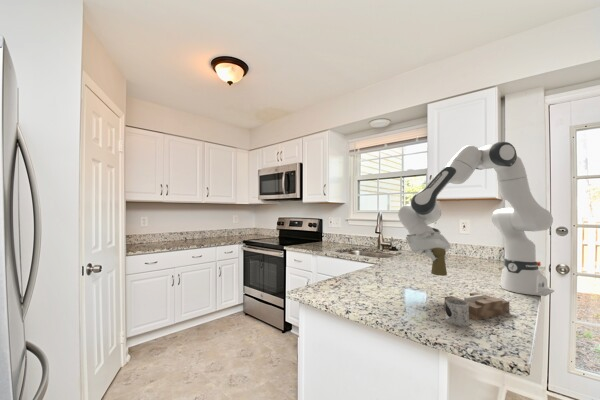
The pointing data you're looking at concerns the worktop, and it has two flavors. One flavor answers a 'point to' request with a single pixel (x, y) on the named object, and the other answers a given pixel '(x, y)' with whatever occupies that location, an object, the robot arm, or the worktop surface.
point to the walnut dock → (485, 307)
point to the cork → (439, 262)
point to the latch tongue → (474, 298)
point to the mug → (457, 312)
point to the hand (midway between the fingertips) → (440, 259)
